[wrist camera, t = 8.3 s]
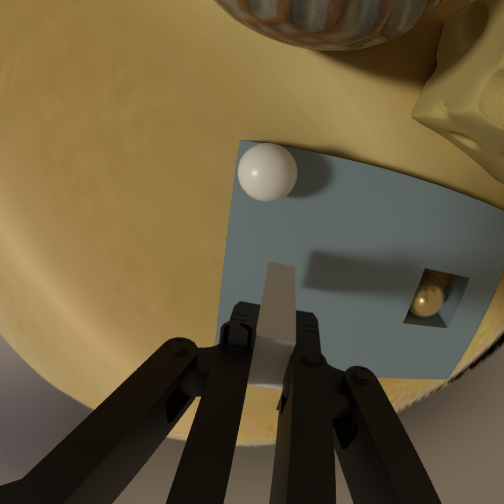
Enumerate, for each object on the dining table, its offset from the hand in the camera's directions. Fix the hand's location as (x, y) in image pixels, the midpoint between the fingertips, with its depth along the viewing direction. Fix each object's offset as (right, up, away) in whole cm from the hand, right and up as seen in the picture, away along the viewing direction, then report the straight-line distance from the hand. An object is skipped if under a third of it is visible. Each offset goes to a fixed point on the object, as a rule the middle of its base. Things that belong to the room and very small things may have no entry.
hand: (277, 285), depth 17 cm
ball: (+12, -1, +3) cm, 12 cm away
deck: (+8, 0, +4) cm, 9 cm away
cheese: (+16, +14, -2) cm, 21 cm away
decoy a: (-1, +6, -1) cm, 6 cm away
